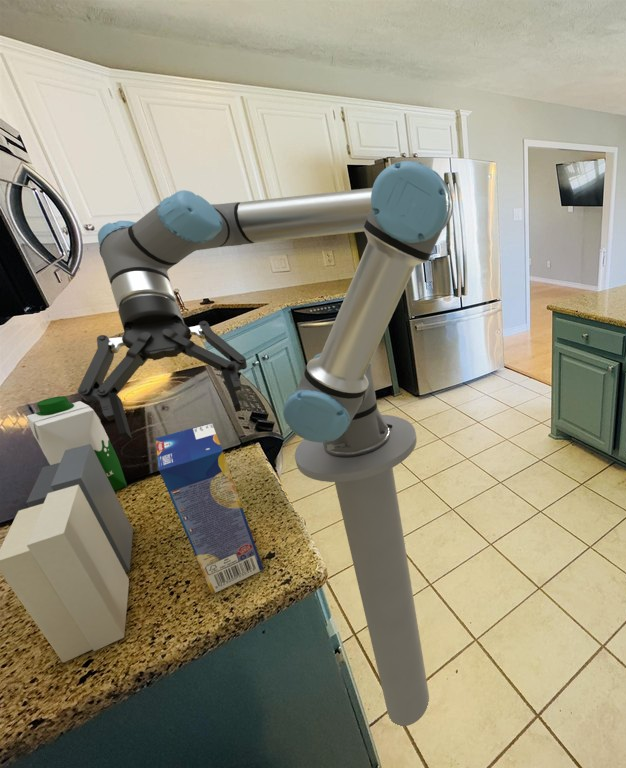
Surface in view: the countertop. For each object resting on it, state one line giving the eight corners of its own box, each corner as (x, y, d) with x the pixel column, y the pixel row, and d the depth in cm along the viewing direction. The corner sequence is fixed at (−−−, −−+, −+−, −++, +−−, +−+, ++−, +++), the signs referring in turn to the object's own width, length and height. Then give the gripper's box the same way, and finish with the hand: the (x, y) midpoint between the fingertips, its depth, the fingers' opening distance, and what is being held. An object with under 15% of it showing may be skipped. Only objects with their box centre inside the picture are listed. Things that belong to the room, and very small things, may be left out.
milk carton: (118, 472, 90) (79, 389, 82) (134, 485, 85) (94, 399, 77) (63, 494, 83) (14, 406, 75) (77, 509, 78) (27, 417, 70)
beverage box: (249, 532, 72) (211, 422, 63) (263, 569, 64) (222, 450, 56) (203, 552, 68) (155, 437, 59) (212, 594, 60) (159, 470, 51)
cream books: (129, 579, 63) (78, 484, 56) (124, 637, 54) (63, 532, 47) (76, 601, 59) (15, 502, 52) (62, 666, 51) (-14, 558, 44)
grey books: (133, 530, 73) (90, 443, 66) (129, 571, 64) (80, 477, 57) (88, 545, 70) (38, 456, 63) (78, 592, 61) (19, 494, 54)
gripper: (239, 309, 76) (277, 407, 71) (50, 334, 62) (80, 459, 57) (235, 283, 70) (276, 388, 66) (25, 305, 56) (57, 441, 51)
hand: (185, 421), depth 61 cm, fingers open, 13 cm apart
